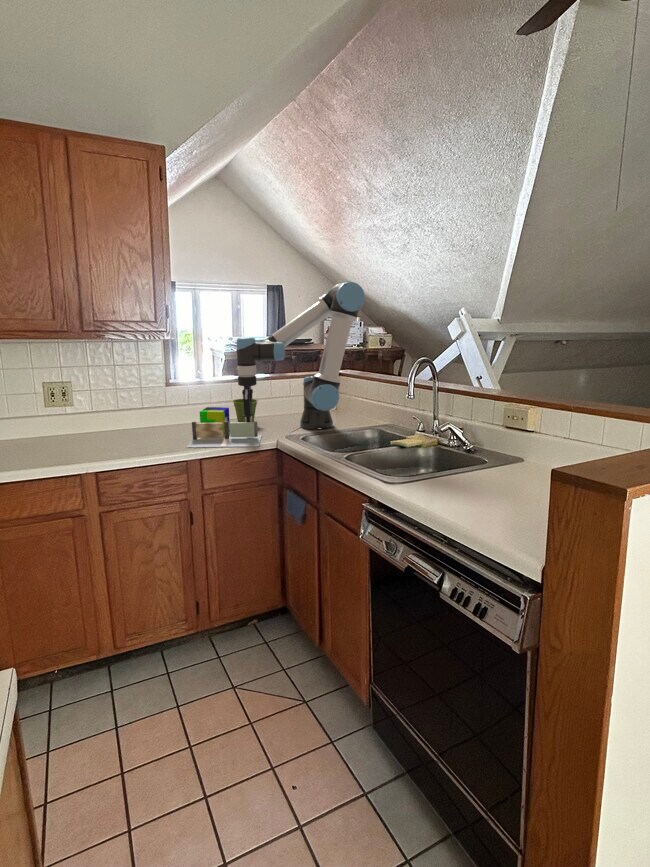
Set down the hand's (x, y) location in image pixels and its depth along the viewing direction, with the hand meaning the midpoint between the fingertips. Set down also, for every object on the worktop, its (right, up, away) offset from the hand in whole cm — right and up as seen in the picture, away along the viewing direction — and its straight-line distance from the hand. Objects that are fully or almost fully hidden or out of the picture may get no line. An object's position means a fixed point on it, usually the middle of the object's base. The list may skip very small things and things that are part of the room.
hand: (249, 431), depth 211 cm
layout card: (-8, -4, -6) cm, 11 cm away
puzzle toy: (-16, 0, +10) cm, 19 cm away
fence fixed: (-15, -3, -3) cm, 16 cm away
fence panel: (-2, -2, -3) cm, 4 cm away
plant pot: (-5, +3, +24) cm, 25 cm away
